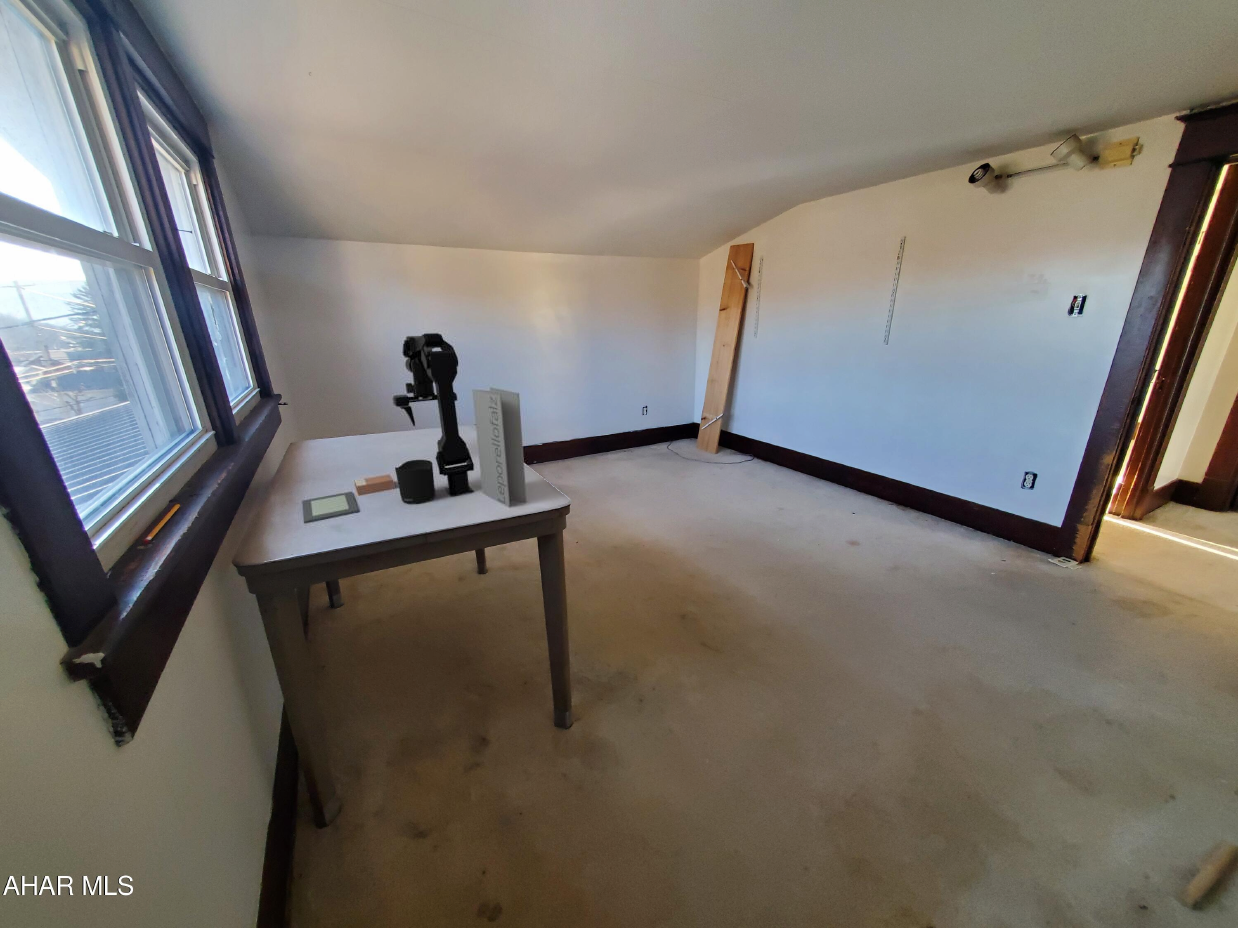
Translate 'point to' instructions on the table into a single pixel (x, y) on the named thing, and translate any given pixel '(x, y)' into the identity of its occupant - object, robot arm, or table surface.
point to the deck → (374, 484)
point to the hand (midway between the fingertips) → (429, 424)
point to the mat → (329, 507)
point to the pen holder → (416, 481)
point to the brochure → (500, 444)
